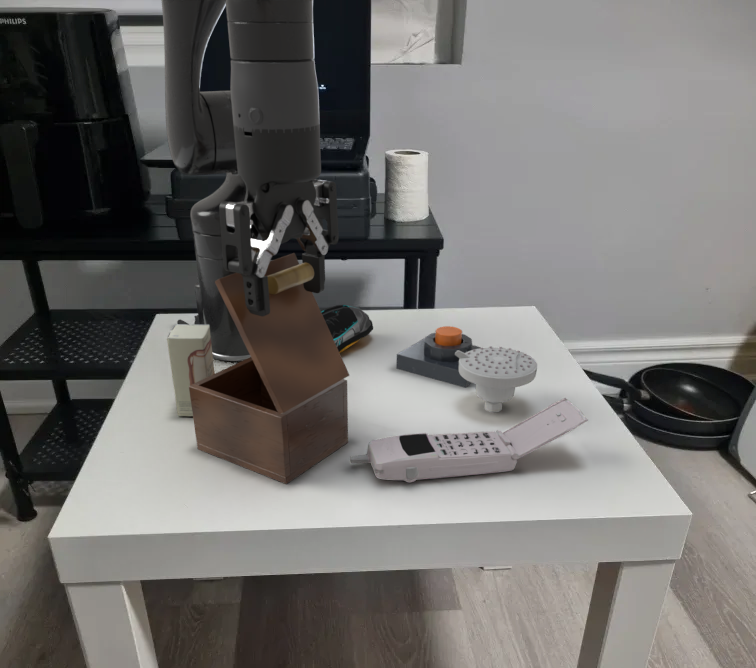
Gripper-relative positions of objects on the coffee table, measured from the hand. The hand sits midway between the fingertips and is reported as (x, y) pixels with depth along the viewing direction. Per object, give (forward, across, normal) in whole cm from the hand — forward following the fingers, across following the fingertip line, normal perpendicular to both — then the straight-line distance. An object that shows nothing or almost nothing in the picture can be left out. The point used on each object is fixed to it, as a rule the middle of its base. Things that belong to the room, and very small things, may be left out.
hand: (287, 302), depth 74 cm
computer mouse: (+17, -27, -16) cm, 36 cm away
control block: (+17, -31, +2) cm, 36 cm away
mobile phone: (+18, -9, +17) cm, 26 cm away
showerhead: (+18, -23, +12) cm, 32 cm away
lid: (+3, 0, -1) cm, 3 cm away
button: (+14, -31, +2) cm, 34 cm away
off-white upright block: (+18, -2, -18) cm, 25 cm away
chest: (+17, 0, -4) cm, 18 cm away
